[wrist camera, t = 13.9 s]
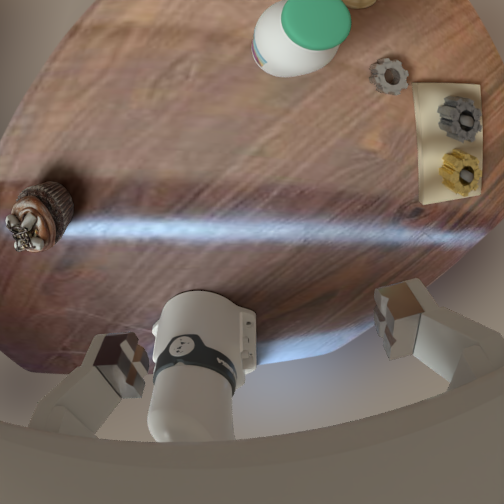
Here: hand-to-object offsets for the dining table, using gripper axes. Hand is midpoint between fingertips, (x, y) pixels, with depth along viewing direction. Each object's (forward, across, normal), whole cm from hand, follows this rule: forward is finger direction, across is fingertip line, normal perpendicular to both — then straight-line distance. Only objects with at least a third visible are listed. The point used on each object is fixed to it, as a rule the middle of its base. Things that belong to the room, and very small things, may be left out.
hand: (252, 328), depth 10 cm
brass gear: (+32, +30, -8) cm, 44 cm away
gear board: (+33, +30, -4) cm, 45 cm away
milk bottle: (+33, +7, +11) cm, 36 cm away
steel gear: (+32, +30, 0) cm, 44 cm away
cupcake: (+33, -31, -1) cm, 46 cm away
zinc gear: (+33, +20, +6) cm, 39 cm away
